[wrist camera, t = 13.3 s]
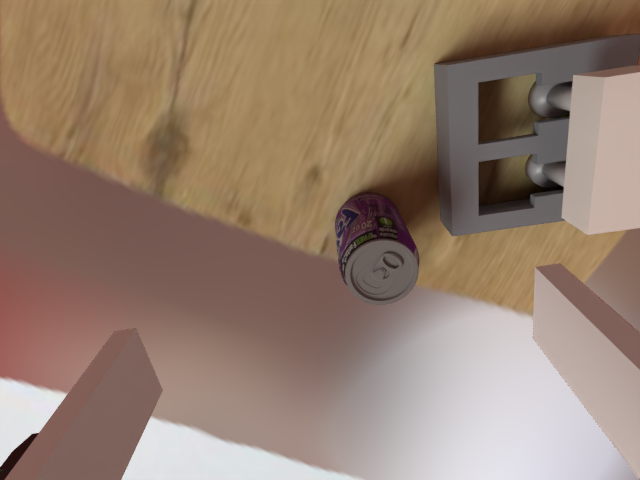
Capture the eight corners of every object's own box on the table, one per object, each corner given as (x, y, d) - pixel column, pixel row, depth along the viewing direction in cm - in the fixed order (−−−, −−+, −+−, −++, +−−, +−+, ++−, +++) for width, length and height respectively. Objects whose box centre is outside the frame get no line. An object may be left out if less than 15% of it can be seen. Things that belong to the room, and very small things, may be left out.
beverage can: (361, 178, 44) (375, 218, 33) (412, 215, 46) (442, 265, 35) (322, 228, 47) (323, 282, 36) (372, 262, 48) (387, 323, 37)
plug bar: (526, 71, 40) (604, 77, 29) (575, 63, 40) (672, 66, 29) (521, 191, 45) (587, 235, 34) (565, 184, 45) (645, 227, 34)
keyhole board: (440, 220, 46) (452, 236, 42) (434, 64, 40) (447, 65, 36) (589, 198, 45) (617, 213, 41) (607, 35, 39) (641, 33, 35)
